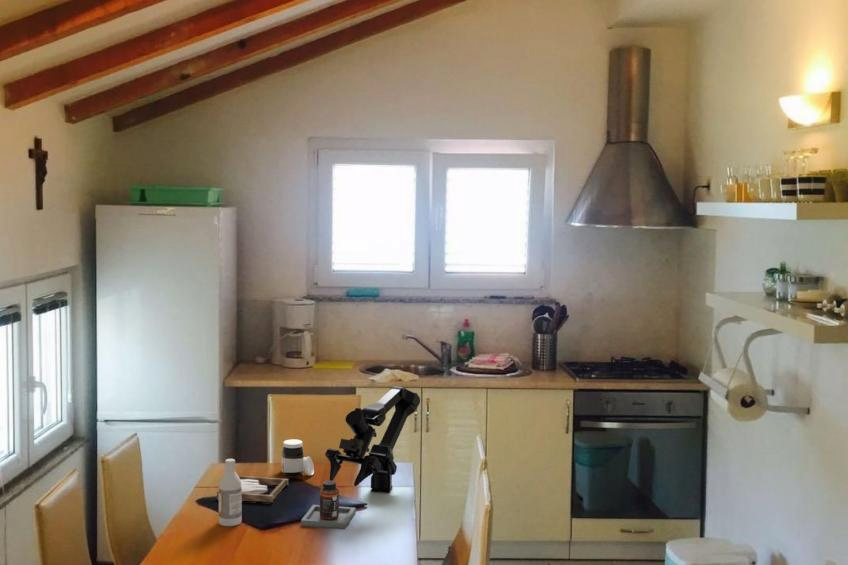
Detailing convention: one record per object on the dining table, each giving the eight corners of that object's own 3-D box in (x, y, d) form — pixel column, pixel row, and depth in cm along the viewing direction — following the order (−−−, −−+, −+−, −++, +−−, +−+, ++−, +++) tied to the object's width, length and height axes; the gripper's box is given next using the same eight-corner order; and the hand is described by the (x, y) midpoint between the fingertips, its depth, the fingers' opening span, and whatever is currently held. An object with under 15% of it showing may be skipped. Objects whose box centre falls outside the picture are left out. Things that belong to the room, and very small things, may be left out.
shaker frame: (288, 486, 321) (288, 479, 321) (272, 503, 303) (272, 496, 303) (235, 482, 323) (235, 475, 323) (217, 499, 306) (217, 492, 305)
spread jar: (280, 469, 339) (280, 438, 337) (310, 467, 342) (310, 436, 341) (285, 480, 327) (285, 448, 326) (316, 477, 331) (316, 446, 329)
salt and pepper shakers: (237, 501, 305) (270, 498, 309) (237, 489, 304) (270, 486, 309) (229, 490, 316) (261, 487, 320) (229, 478, 315) (262, 475, 320)
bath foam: (217, 519, 288) (217, 457, 286) (240, 518, 290) (240, 455, 288) (219, 528, 281) (219, 464, 279) (242, 525, 283) (242, 462, 281)
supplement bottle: (340, 519, 288) (340, 484, 287) (321, 521, 287) (321, 486, 285) (337, 513, 294) (337, 478, 293) (318, 514, 292) (318, 480, 291)
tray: (355, 513, 296) (355, 507, 296) (345, 529, 282) (345, 523, 282) (313, 510, 298) (313, 504, 298) (301, 525, 284) (301, 520, 284)
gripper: (328, 424, 303) (308, 465, 295) (377, 432, 294) (357, 475, 286) (341, 442, 311) (322, 482, 302) (389, 450, 302) (370, 493, 294)
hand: (342, 483), depth 296 cm, fingers open, 9 cm apart
